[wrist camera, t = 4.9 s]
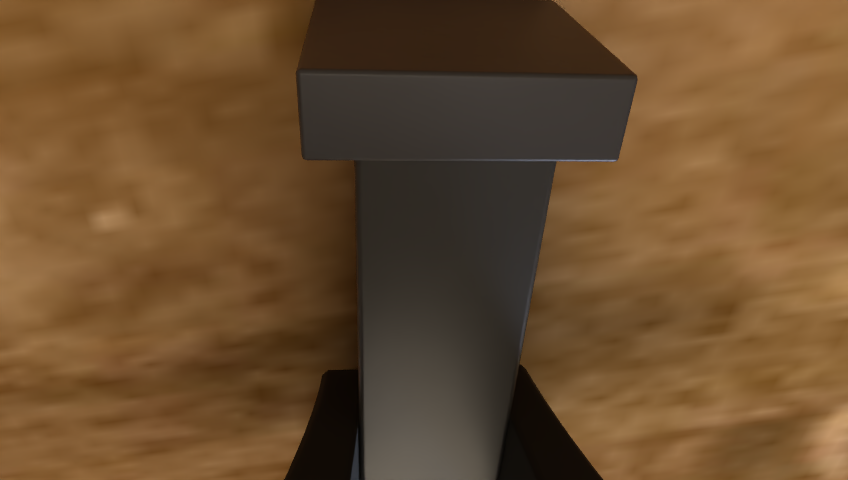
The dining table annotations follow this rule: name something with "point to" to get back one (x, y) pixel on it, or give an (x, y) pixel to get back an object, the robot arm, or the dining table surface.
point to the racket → (450, 201)
